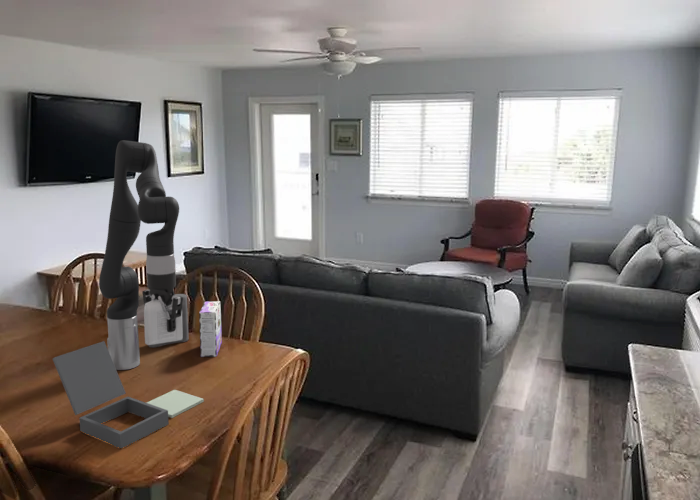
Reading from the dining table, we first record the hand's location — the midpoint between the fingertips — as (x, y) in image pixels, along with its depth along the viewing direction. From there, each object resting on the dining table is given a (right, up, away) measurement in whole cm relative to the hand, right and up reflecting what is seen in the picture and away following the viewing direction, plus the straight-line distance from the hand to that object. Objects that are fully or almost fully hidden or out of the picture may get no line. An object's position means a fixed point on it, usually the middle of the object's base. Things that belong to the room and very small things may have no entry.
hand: (163, 329), depth 161 cm
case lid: (-18, -12, -4) cm, 22 cm away
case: (-7, -25, -8) cm, 27 cm away
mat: (+1, -22, +6) cm, 23 cm away
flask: (-16, -13, +56) cm, 60 cm away
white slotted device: (0, -4, +1) cm, 4 cm away
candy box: (+2, -14, +49) cm, 51 cm away
